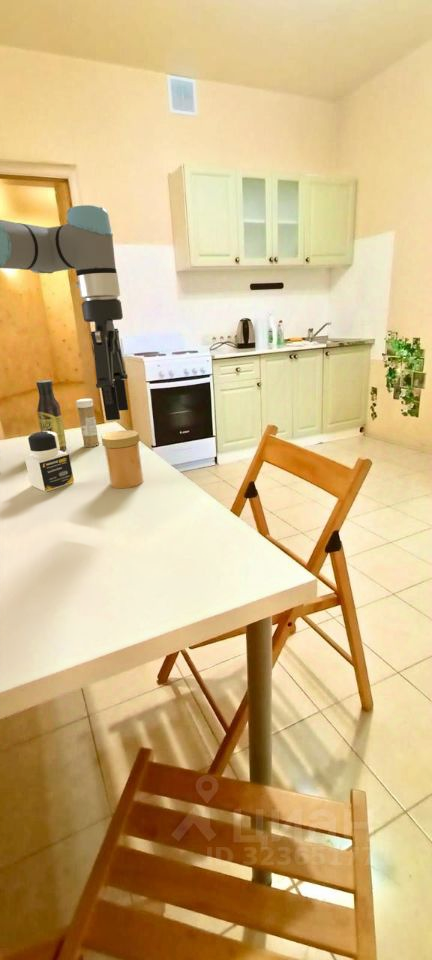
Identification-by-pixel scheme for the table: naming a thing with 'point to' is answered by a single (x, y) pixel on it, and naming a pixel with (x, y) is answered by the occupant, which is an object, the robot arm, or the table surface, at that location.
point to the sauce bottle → (50, 412)
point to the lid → (120, 439)
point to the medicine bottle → (48, 462)
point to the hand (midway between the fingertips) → (117, 414)
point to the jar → (124, 466)
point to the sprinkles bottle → (87, 422)
